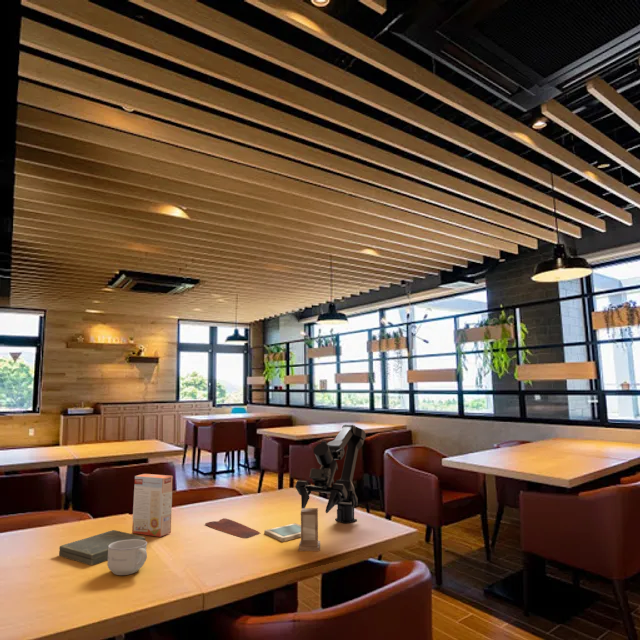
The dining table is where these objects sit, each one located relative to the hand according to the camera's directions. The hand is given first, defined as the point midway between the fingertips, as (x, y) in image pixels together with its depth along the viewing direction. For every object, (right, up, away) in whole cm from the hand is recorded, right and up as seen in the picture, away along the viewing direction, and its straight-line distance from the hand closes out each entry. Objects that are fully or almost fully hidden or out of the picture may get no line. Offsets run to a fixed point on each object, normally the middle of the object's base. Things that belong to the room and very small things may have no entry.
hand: (314, 511), depth 162 cm
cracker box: (-61, -13, +12) cm, 64 cm away
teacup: (-54, -8, -25) cm, 60 cm away
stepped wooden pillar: (-1, -10, -5) cm, 11 cm away
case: (-70, -11, -7) cm, 72 cm away
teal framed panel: (-9, -12, +10) cm, 18 cm away
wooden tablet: (-31, -14, +16) cm, 38 cm away
